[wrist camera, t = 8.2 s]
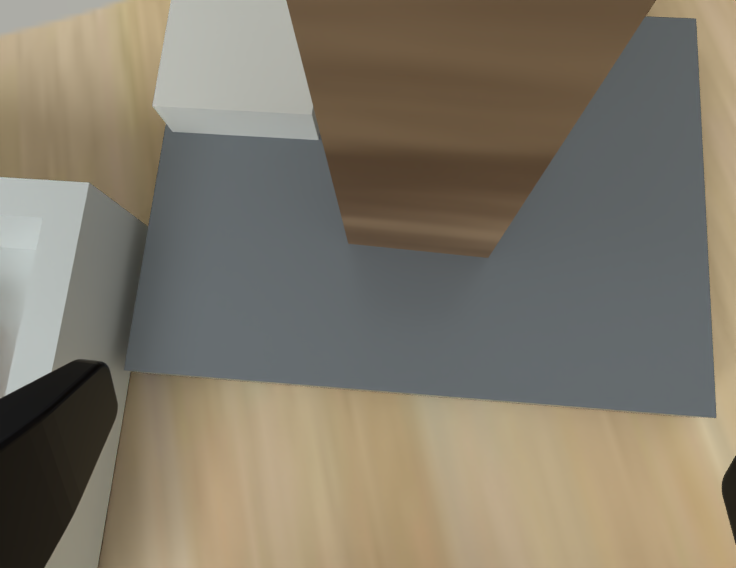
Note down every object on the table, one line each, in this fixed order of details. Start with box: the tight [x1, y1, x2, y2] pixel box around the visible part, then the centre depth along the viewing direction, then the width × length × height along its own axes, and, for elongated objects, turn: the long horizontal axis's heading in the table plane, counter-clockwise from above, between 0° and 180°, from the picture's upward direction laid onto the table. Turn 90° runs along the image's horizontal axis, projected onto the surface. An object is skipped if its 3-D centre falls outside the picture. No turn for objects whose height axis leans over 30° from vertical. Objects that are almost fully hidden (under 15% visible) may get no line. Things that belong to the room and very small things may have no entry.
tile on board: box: [152, 0, 320, 140], centre depth 17 cm, size 4×4×2 cm
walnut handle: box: [286, 0, 656, 258], centre depth 10 cm, size 4×4×13 cm
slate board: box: [124, 17, 716, 418], centre depth 17 cm, size 12×16×2 cm
